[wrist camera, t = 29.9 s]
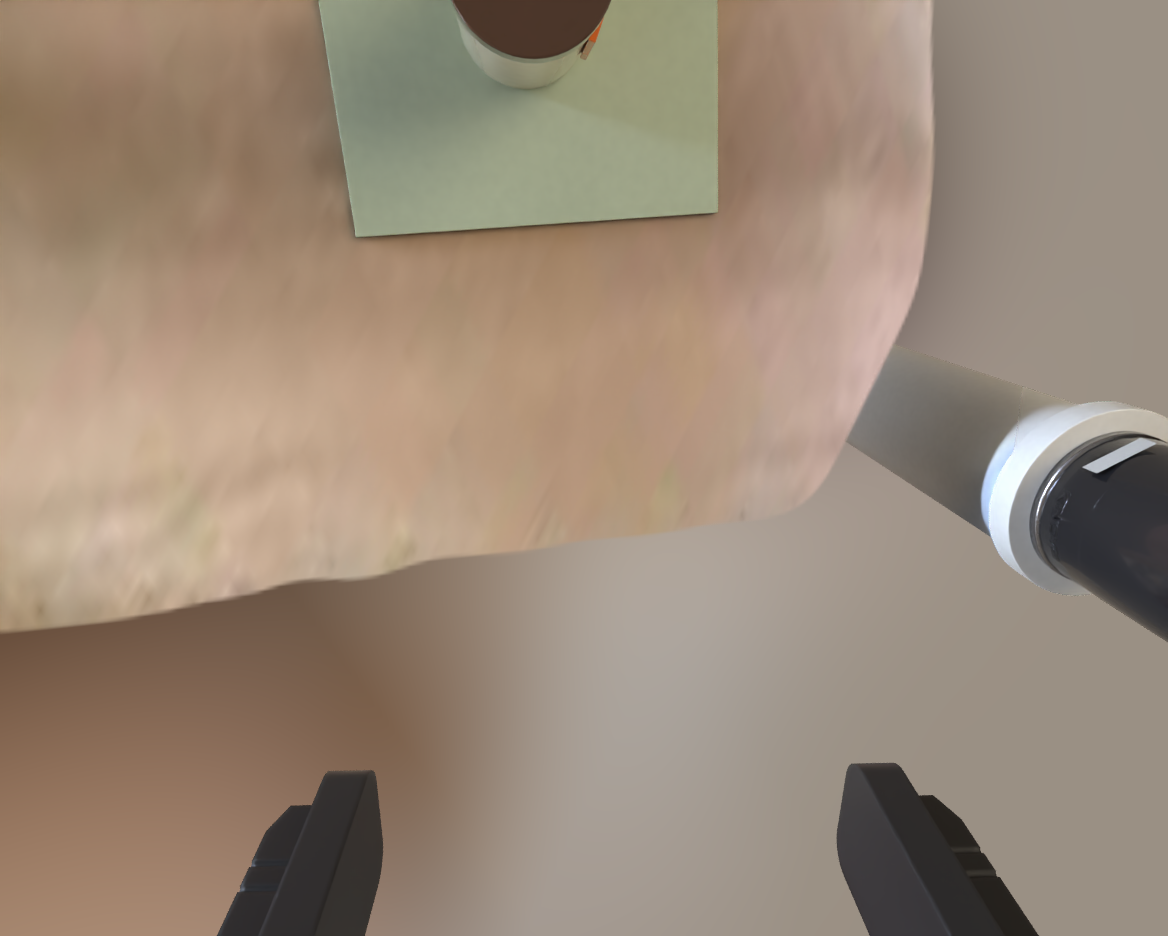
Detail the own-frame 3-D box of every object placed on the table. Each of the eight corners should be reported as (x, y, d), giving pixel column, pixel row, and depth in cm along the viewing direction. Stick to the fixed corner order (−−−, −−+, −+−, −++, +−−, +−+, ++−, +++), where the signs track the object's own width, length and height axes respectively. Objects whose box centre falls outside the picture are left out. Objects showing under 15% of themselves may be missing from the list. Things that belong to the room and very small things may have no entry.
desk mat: (715, -233, 31) (717, -237, 31) (716, 212, 37) (718, 212, 37) (283, -224, 30) (281, -229, 30) (357, 237, 36) (356, 237, 36)
